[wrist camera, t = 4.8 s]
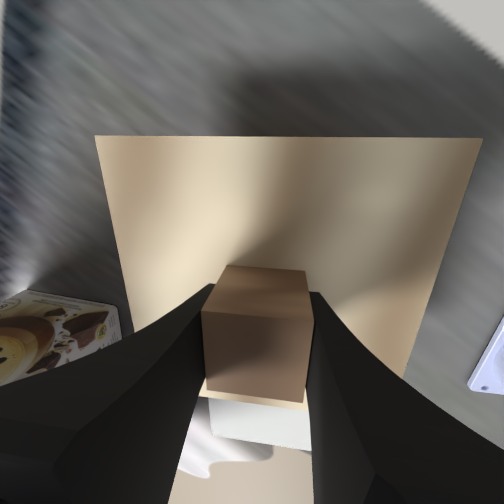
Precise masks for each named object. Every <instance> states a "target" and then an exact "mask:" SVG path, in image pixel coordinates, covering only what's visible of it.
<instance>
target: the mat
mask: <svg viewBox="0 0 504 504" xmlns="http://www.w3.org/2000/svg"><path fill="white" fill-rule="evenodd" d="M208 400H209V410H210V421H211V431H212V435H214V436H220V437H226V438H232V439H239V440H245V441H251V442H258V443H264V444H270V445H277V446H283V447H289V448H295V449H302V450H308V451H311V434H310V419H309V411H302V410H295V409H288V408H281V407H274V406H267V405H260V404H252V403H245V402H238V401H231V400H224V399H217V398H210V397H208Z"/></svg>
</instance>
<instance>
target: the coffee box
mask: <svg viewBox="0 0 504 504" xmlns="http://www.w3.org/2000/svg"><path fill="white" fill-rule="evenodd" d="M121 339H122V335H121V329H120V323H119V316H118V310H117V307H115V306H114V305H109V304H103V303H97V302H92V301H86V300H81V299H75V298H69V297H64V296H58V295H53V294H47V293H42V292H37V291H31V290H24V291H22V292H20V293H18V294H16V295H14V296H12V297H11V298H9V299H7V300H5V301H3V302H1V303H0V386H2V385H5V384H8V383H11V382H14V381H17V380H20V379H23V378H26V377H29V376H32V375H35V374H38V373H41V372H44V371H47V370H50V369H53V368H55V367H58V366H61V365H63V364H66V363H69V362H71V361H74V360H76V359H79V358H81V357H84V356H86V355H89V354H91V353H93V352H96V351H98V350H100V349H102V348H104V347H106V346H109V345H111V344H113V343H115V342H117V341H119V340H121Z"/></svg>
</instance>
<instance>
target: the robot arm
mask: <svg viewBox="0 0 504 504" xmlns="http://www.w3.org/2000/svg"><path fill="white" fill-rule="evenodd" d="M215 285H216V284H213V283H209V284H208V285H206V286H205V287H203V288H202V289H201V290H199V291H198V292H197V293H195V294H194V295H193V296H191V297H190V298H189V299H187V300H186V301H184V302H183V303H182V304H180V305H179V306H177V307H176V308H175V309H173V310H171V311H170V312H168V313H167V314H165V315H164V316H162V317H161V318H159V319H158V320H156V321H155V322H153V323H151V324H150V325H148V326H146V327H144V328H143V329H141V330H139V331H137V332H135V333H133V334H131V335H130V336H128V337H126V338H124V339H121V340H119V341H117V342H115V343H113V344H111V345H109V346H106V347H104V348H102V349H100V350H98V351H96V352H93V353H91V354H89V355H86V356H84V357H81V358H79V359H76V360H74V361H71V362H69V363H66V364H63V365H61V366H58V367H55V368H53V369H50V370H47V371H44V372H41V373H38V374H35V375H32V376H29V377H26V378H23V379H20V380H17V381H14V382H11V383H8V384H5V385H2V386H0V504H168V501H169V497H170V493H171V489H172V485H173V482H174V477H175V474H176V470H177V467H178V463H179V459H180V456H181V452H182V449H183V445H184V442H185V438H186V434H187V431H188V428H189V424H190V421H191V418H192V414H193V411H194V407H195V404H196V401H197V399H198V396H199V393H200V390H201V388H202V385H203V383H204V380H205V378H206V373H205V360H204V347H203V333H202V320H201V309H202V308H203V306H204V304H205V302H206V301H207V299H208V297H209V295H210V293H211V292H212V290H213V288H214V286H215ZM309 295H310V301H311V306H312V312H313V317H314V327H313V334H312V341H311V349H310V356H309V363H308V370H307V378H306V385H305V389H306V396H307V403H308V410H309V419H310V434H311V452H312V472H313V489H314V490H313V492H314V504H504V450H503V449H501V448H500V447H498V446H496V445H495V444H493V443H492V442H490V441H489V440H487V439H485V438H484V437H482V436H481V435H479V434H477V433H476V432H474V431H473V430H471V429H470V428H468V427H467V426H465V425H464V424H463V423H461V422H460V421H458V420H457V419H455V418H454V417H452V416H451V415H450V414H448V413H447V412H445V411H444V410H442V409H441V408H439V407H438V406H437V405H435V404H434V403H433V402H431V401H430V400H429V399H427V398H426V397H424V396H423V395H422V394H420V393H419V392H418V391H417V390H415V389H414V388H413V387H412V386H410V385H409V384H408V383H406V382H405V381H404V380H403V379H401V378H400V377H399V376H398V375H396V374H395V373H394V372H393V371H392V370H390V369H389V368H388V367H387V366H386V365H385V364H384V363H383V362H381V361H380V360H379V359H378V358H377V357H376V356H375V355H374V354H373V353H371V352H370V351H369V350H368V349H367V348H366V347H365V346H364V345H363V344H362V343H361V342H360V341H359V340H358V339H357V337H356V336H355V335H354V334H353V333H352V332H351V331H350V330H349V329H348V328H347V326H346V325H345V324H344V323H343V322H342V320H341V319H340V318H339V317H338V316H337V314H336V313H335V312H334V311H333V309H332V308H331V307H330V305H329V304H328V303H327V301H326V300H325V299H324V297H323V296H322V295H321V294H320V292H312V291H309ZM467 385H468V386H469V388H470V389H471V390H473V391H478V392H486V393H495V394H503V395H504V317H503V319H502V321H501V322H500V324H499V326H498V328H497V330H496V332H495V333H494V335H493V337H492V339H491V341H490V343H489V344H488V346H487V348H486V350H485V352H484V353H483V355H482V357H481V359H480V361H479V363H478V364H477V366H476V368H475V370H474V372H473V373H472V375H471V377H470V379H469V381H468V383H467Z"/></svg>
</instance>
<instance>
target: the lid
mask: <svg viewBox="0 0 504 504" xmlns="http://www.w3.org/2000/svg"><path fill="white" fill-rule="evenodd" d="M483 139H484V138H398V137H231V136H95V141H96V145H97V150H98V155H99V160H100V165H101V170H102V175H103V180H104V184H105V189H106V194H107V199H108V204H109V209H110V214H111V219H112V224H113V228H114V233H115V238H116V243H117V248H118V253H119V258H120V263H121V267H122V272H123V277H124V282H125V287H126V292H127V297H128V302H129V307H130V311H131V316H132V321H133V326H134V331H135V332H137V331H139V330H141V329H143V328H144V327H146V326H148V325H150V324H151V323H153V322H155V321H156V320H158V319H159V318H161V317H162V316H164V315H165V314H167V313H168V312H170V311H171V310H173V309H175V308H176V307H177V306H179V305H180V304H182V303H183V302H184V301H186V300H187V299H189V298H190V297H191V296H193V295H194V294H195V293H197V292H198V291H199V290H201V289H202V288H203V287H205V286H206V285H208V284H209V283H213V284H216V285H215V286H214V288H213V290H212V292H211V293H210V295H209V297H208V299H207V301H206V302H205V304H204V306H203V308H202V309H201V320H202V333H203V347H204V360H205V373H206V378H205V380H204V383H203V385H202V388H201V390H200V393H199V396H202V397H210V398H217V399H224V400H231V401H238V402H245V403H252V404H260V405H267V406H274V407H281V408H288V409H295V410H302V411H309V410H308V403H307V396H306V389H305V385H306V378H307V370H308V363H309V356H310V349H311V341H312V334H313V327H314V317H313V312H312V306H311V301H310V295H309V291H312V292H320V294H321V295H322V296H323V297H324V299H325V300H326V301H327V303H328V304H329V305H330V307H331V308H332V309H333V311H334V312H335V313H336V314H337V316H338V317H339V318H340V319H341V320H342V322H343V323H344V324H345V325H346V326H347V328H348V329H349V330H350V331H351V332H352V333H353V334H354V335H355V336H356V337H357V339H358V340H359V341H360V342H361V343H362V344H363V345H364V346H365V347H366V348H367V349H368V350H369V351H370V352H371V353H373V354H374V355H375V356H376V357H377V358H378V359H379V360H380V361H381V362H383V363H384V364H385V365H386V366H387V367H388V368H389V369H390V370H392V371H393V372H394V373H395V374H396V375H398V376H399V377H400V378H401V379H402V377H403V374H404V371H405V368H406V365H407V362H408V359H409V356H410V354H411V351H412V348H413V345H414V342H415V339H416V336H417V333H418V330H419V327H420V324H421V321H422V318H423V315H424V312H425V309H426V306H427V303H428V301H429V298H430V295H431V292H432V289H433V286H434V283H435V280H436V277H437V274H438V271H439V268H440V265H441V262H442V259H443V256H444V253H445V250H446V248H447V245H448V242H449V239H450V236H451V233H452V230H453V227H454V224H455V221H456V218H457V215H458V212H459V209H460V206H461V203H462V200H463V197H464V195H465V192H466V189H467V186H468V183H469V180H470V177H471V174H472V171H473V168H474V165H475V162H476V159H477V156H478V153H479V150H480V147H481V144H482V142H483Z"/></svg>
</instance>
